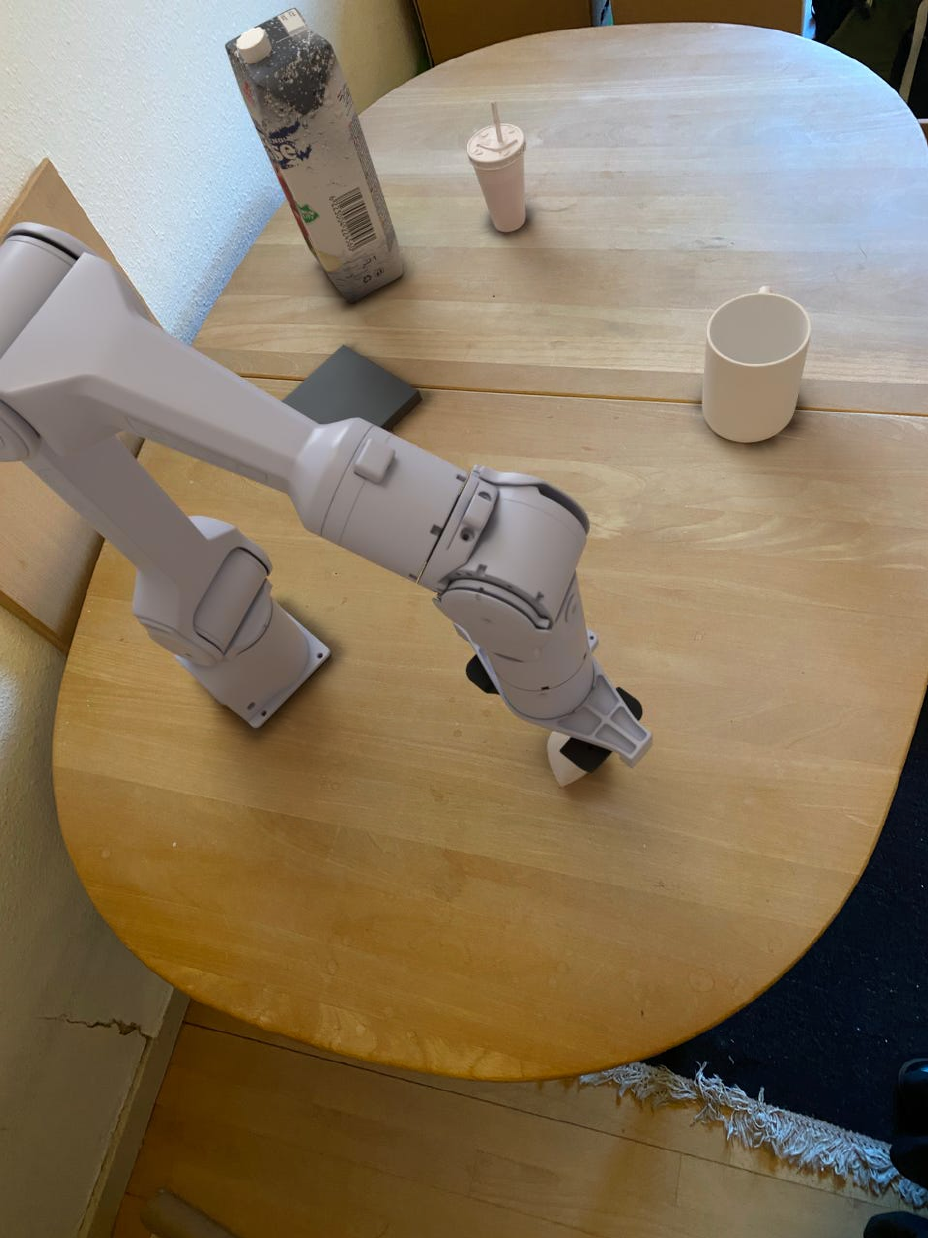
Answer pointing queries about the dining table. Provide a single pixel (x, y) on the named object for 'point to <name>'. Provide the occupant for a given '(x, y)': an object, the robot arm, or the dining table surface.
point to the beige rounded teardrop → (562, 760)
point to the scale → (353, 392)
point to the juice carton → (317, 150)
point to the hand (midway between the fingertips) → (561, 725)
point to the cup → (754, 365)
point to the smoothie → (500, 171)
